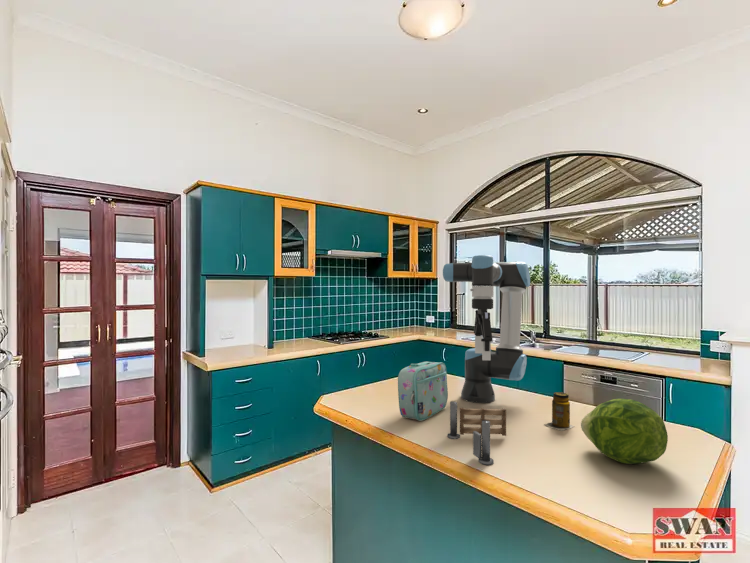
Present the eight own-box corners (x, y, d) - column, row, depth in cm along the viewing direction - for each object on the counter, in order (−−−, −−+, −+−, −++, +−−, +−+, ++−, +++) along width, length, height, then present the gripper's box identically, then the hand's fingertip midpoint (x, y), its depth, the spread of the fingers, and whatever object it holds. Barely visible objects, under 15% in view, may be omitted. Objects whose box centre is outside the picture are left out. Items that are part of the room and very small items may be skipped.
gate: (460, 434, 137) (460, 408, 137) (459, 433, 138) (459, 407, 138) (506, 435, 136) (506, 409, 136) (505, 434, 137) (505, 408, 137)
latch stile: (485, 455, 122) (485, 416, 122) (496, 464, 117) (496, 423, 117) (472, 457, 121) (472, 418, 121) (483, 466, 115) (483, 425, 115)
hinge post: (456, 433, 140) (456, 400, 140) (462, 438, 136) (462, 403, 136) (445, 435, 139) (445, 401, 139) (450, 440, 135) (450, 404, 135)
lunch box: (417, 426, 147) (418, 369, 147) (395, 420, 154) (395, 365, 154) (450, 408, 169) (450, 358, 169) (429, 403, 175) (429, 355, 175)
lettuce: (599, 441, 135) (587, 389, 136) (681, 455, 117) (668, 395, 117) (572, 465, 124) (560, 407, 124) (659, 485, 105) (644, 417, 105)
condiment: (574, 426, 147) (574, 394, 147) (561, 431, 143) (561, 398, 143) (556, 421, 153) (556, 390, 153) (543, 425, 149) (543, 393, 149)
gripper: (466, 296, 156) (466, 350, 156) (478, 299, 131) (478, 363, 131) (485, 296, 155) (485, 350, 155) (501, 299, 131) (501, 363, 130)
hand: (482, 356), depth 143 cm, fingers open, 13 cm apart
